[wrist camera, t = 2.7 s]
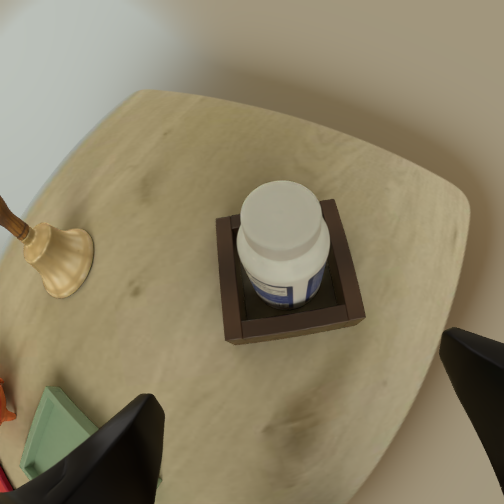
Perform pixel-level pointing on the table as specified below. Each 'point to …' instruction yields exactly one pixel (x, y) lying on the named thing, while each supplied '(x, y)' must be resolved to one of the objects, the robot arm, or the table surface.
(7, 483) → the red board with handle
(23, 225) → the hand bell
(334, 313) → the bottle holder
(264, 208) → the pill bottle
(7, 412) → the pot
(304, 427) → the table surface
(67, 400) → the tray
